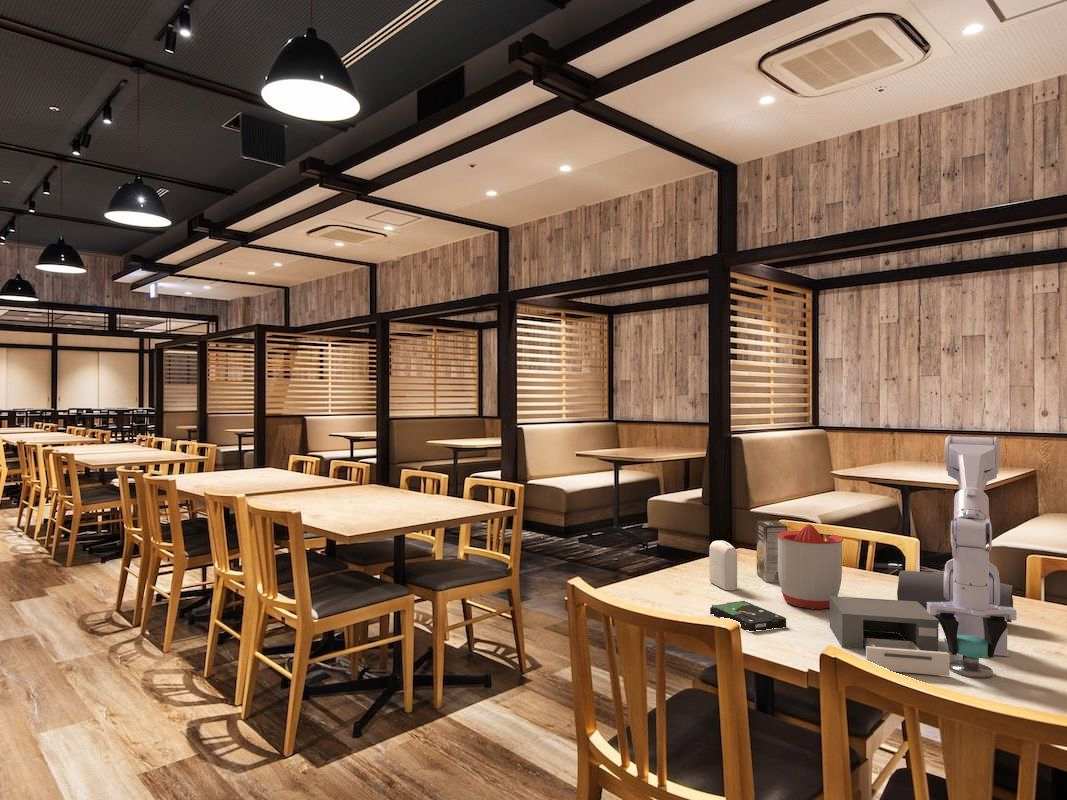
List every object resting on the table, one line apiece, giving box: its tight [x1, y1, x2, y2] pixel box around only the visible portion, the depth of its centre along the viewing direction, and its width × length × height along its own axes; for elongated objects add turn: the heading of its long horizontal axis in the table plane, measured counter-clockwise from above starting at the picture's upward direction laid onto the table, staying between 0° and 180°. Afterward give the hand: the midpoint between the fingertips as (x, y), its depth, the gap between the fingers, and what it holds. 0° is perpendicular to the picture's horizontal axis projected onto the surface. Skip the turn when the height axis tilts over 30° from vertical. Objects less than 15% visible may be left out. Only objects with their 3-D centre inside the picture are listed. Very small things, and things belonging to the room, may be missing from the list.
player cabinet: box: [829, 596, 940, 652], centre depth 148 cm, size 18×14×7 cm
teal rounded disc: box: [957, 635, 989, 659], centre depth 131 cm, size 6×6×2 cm
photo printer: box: [708, 540, 738, 591], centre depth 191 cm, size 10×4×12 cm, turn 13°
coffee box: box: [756, 520, 789, 584], centre depth 200 cm, size 9×6×16 cm
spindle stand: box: [949, 655, 994, 680], centre depth 131 cm, size 7×7×4 cm
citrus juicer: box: [777, 523, 844, 611], centre depth 176 cm, size 16×17×20 cm
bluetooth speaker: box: [896, 570, 1014, 623], centre depth 164 cm, size 23×9×10 cm, turn 53°
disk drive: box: [709, 600, 787, 631], centre depth 161 cm, size 10×3×15 cm
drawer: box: [863, 637, 950, 677], centre depth 137 cm, size 14×16×4 cm
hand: (970, 654), depth 131 cm, fingers closed on teal rounded disc, 5 cm apart
